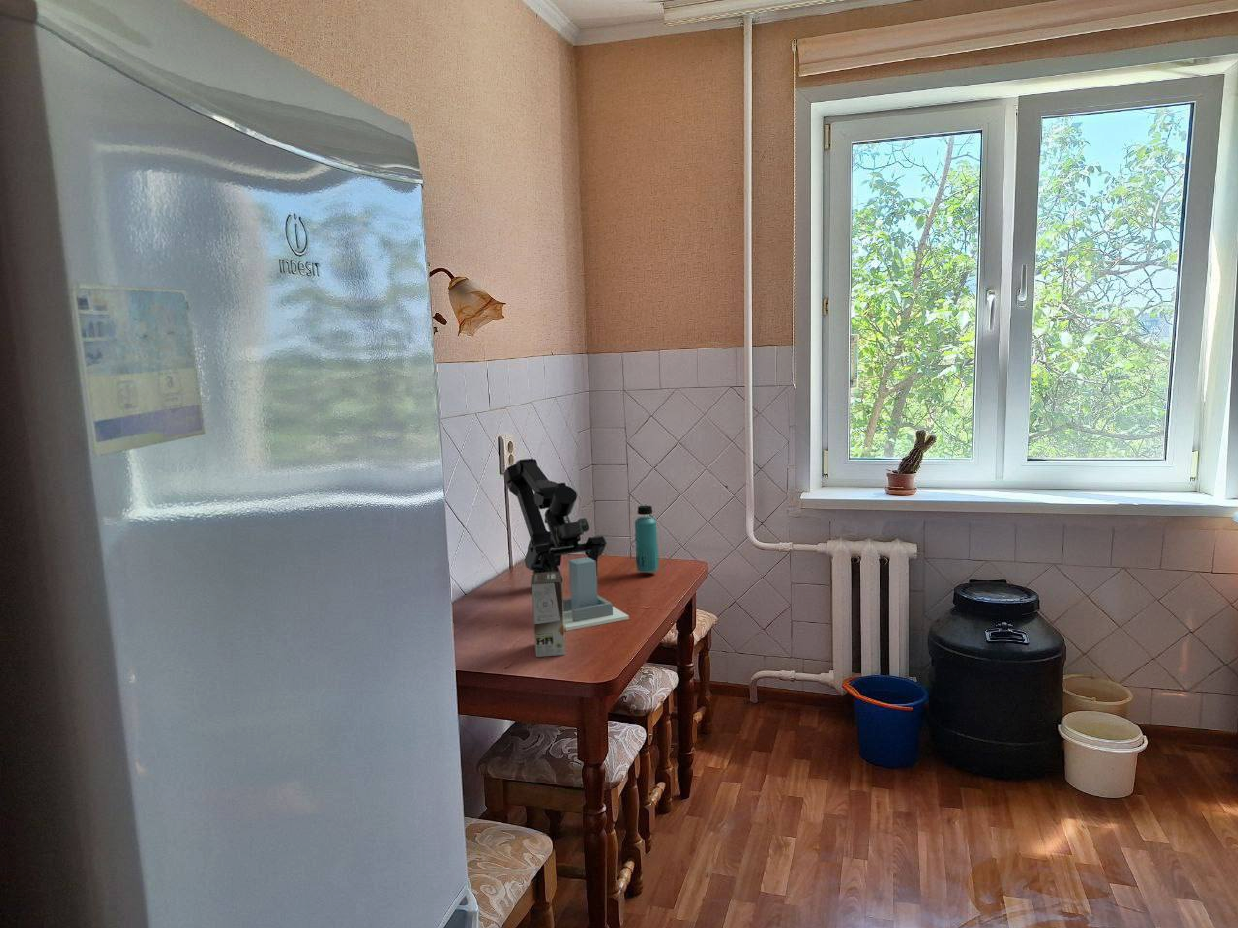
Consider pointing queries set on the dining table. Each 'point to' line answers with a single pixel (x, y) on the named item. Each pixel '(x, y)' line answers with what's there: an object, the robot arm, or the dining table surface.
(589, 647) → the dining table surface
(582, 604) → the blue-grey tall block
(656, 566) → the beverage bottle
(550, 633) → the coffee box
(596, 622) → the plate
